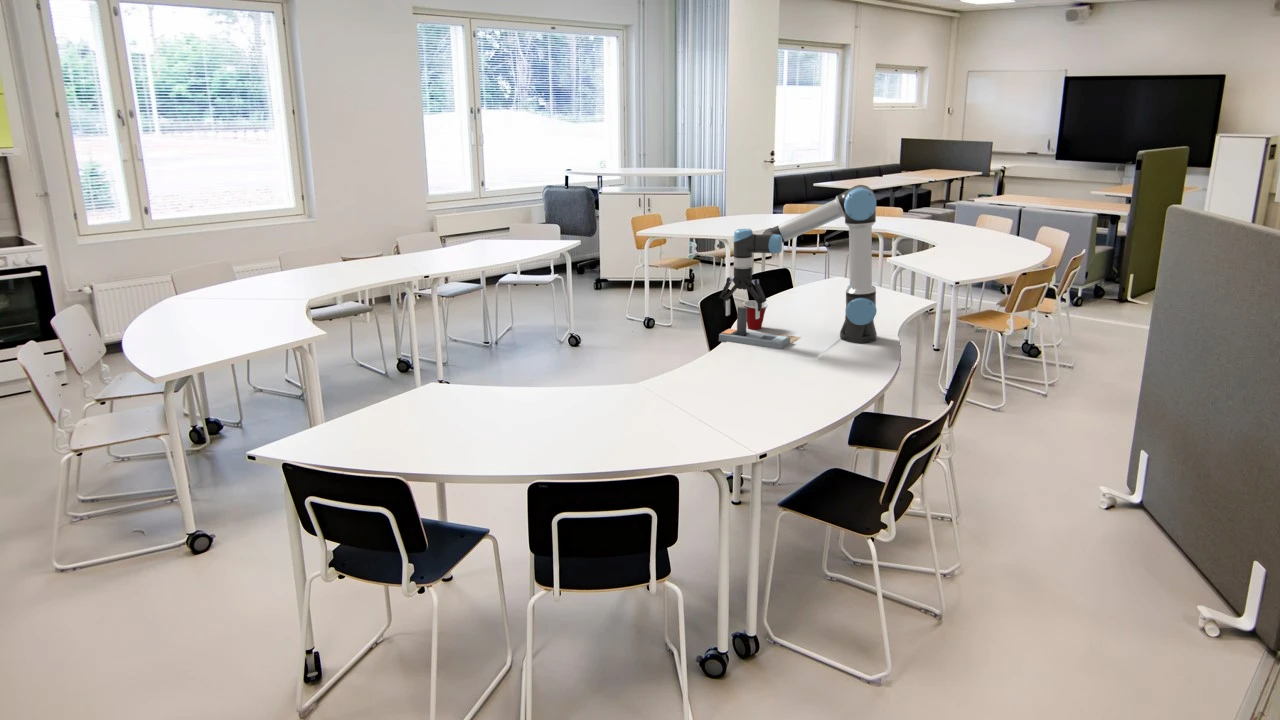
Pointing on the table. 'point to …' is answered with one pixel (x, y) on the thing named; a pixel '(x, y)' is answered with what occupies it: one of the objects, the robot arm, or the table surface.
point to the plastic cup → (754, 315)
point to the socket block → (755, 339)
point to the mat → (792, 338)
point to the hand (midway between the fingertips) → (742, 316)
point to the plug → (741, 321)
